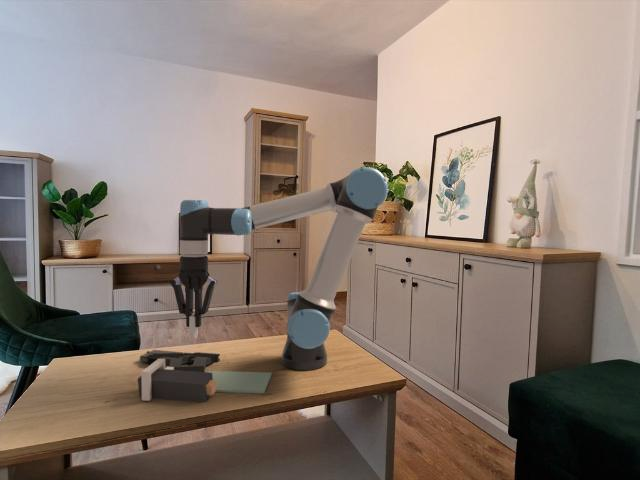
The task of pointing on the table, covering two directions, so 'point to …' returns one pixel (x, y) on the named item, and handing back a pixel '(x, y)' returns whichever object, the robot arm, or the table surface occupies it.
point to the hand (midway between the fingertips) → (193, 338)
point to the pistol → (181, 359)
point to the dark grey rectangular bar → (180, 385)
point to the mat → (241, 381)
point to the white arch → (147, 377)
